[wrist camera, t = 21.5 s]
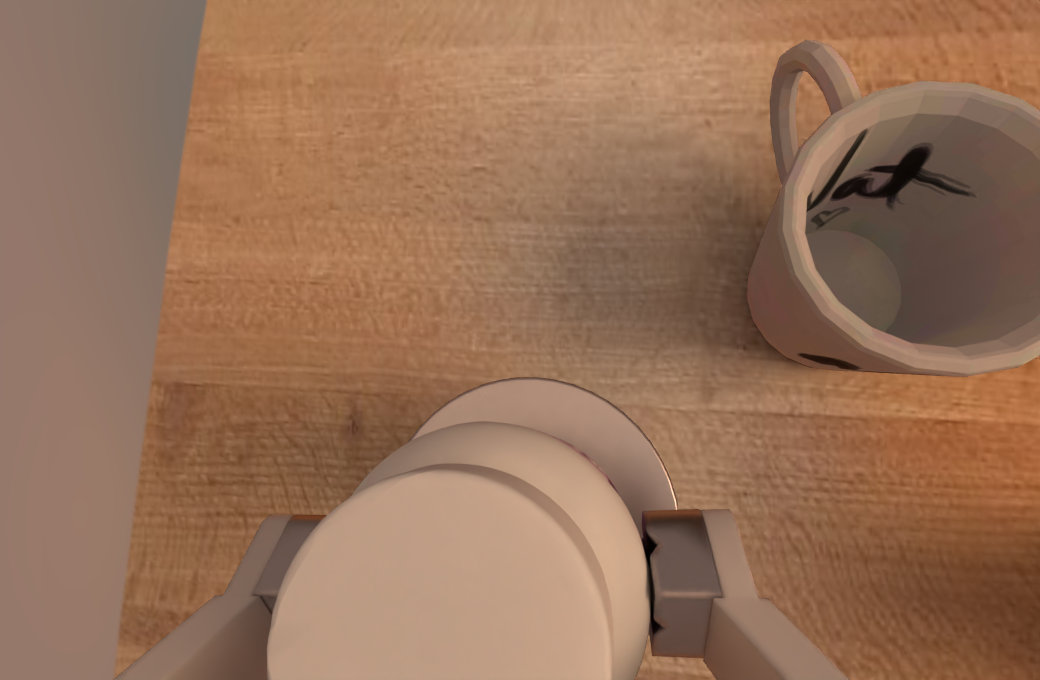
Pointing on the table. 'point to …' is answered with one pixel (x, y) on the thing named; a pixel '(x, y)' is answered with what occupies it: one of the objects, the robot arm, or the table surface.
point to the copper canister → (571, 432)
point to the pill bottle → (469, 569)
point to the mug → (901, 227)
